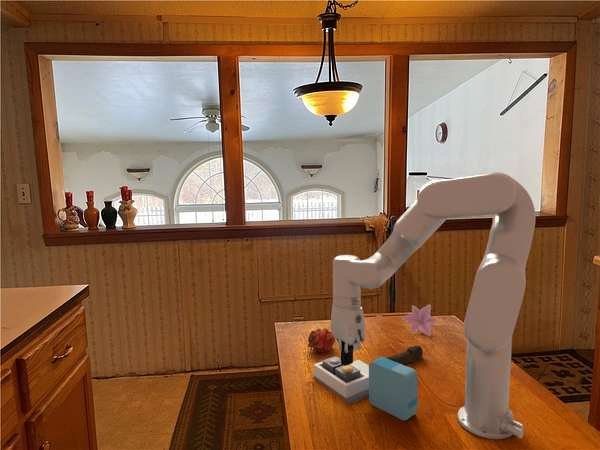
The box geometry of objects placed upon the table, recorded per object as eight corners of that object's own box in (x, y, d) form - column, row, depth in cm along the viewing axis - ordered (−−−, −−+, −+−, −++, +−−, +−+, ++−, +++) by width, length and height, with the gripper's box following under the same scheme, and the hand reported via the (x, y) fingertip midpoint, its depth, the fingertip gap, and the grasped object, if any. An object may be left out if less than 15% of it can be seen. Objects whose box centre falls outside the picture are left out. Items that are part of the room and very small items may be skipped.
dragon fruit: (305, 359, 137) (331, 354, 144) (320, 351, 131) (346, 346, 139) (298, 335, 141) (324, 331, 148) (312, 326, 135) (338, 322, 143)
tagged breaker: (360, 380, 114) (360, 369, 113) (346, 385, 111) (346, 374, 110) (348, 373, 118) (348, 362, 117) (335, 378, 115) (335, 367, 115)
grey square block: (346, 372, 119) (346, 361, 118) (333, 376, 116) (332, 366, 115) (336, 365, 123) (335, 355, 122) (322, 370, 120) (322, 359, 120)
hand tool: (382, 376, 122) (382, 361, 122) (374, 370, 126) (374, 356, 125) (428, 361, 131) (429, 347, 130) (419, 356, 134) (420, 343, 134)
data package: (417, 415, 102) (418, 370, 100) (407, 423, 99) (408, 376, 97) (378, 396, 111) (378, 355, 109) (368, 403, 108) (368, 360, 106)
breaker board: (397, 384, 117) (397, 369, 116) (349, 404, 107) (349, 388, 107) (357, 362, 131) (357, 348, 130) (313, 377, 122) (312, 363, 121)
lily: (397, 331, 158) (399, 314, 152) (414, 313, 164) (416, 296, 159) (425, 348, 151) (427, 331, 145) (441, 328, 157) (444, 312, 151)
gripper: (375, 305, 107) (375, 370, 110) (340, 291, 120) (340, 350, 122) (354, 310, 103) (354, 378, 106) (319, 296, 116) (320, 357, 118)
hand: (346, 363), depth 114 cm, fingers closed
